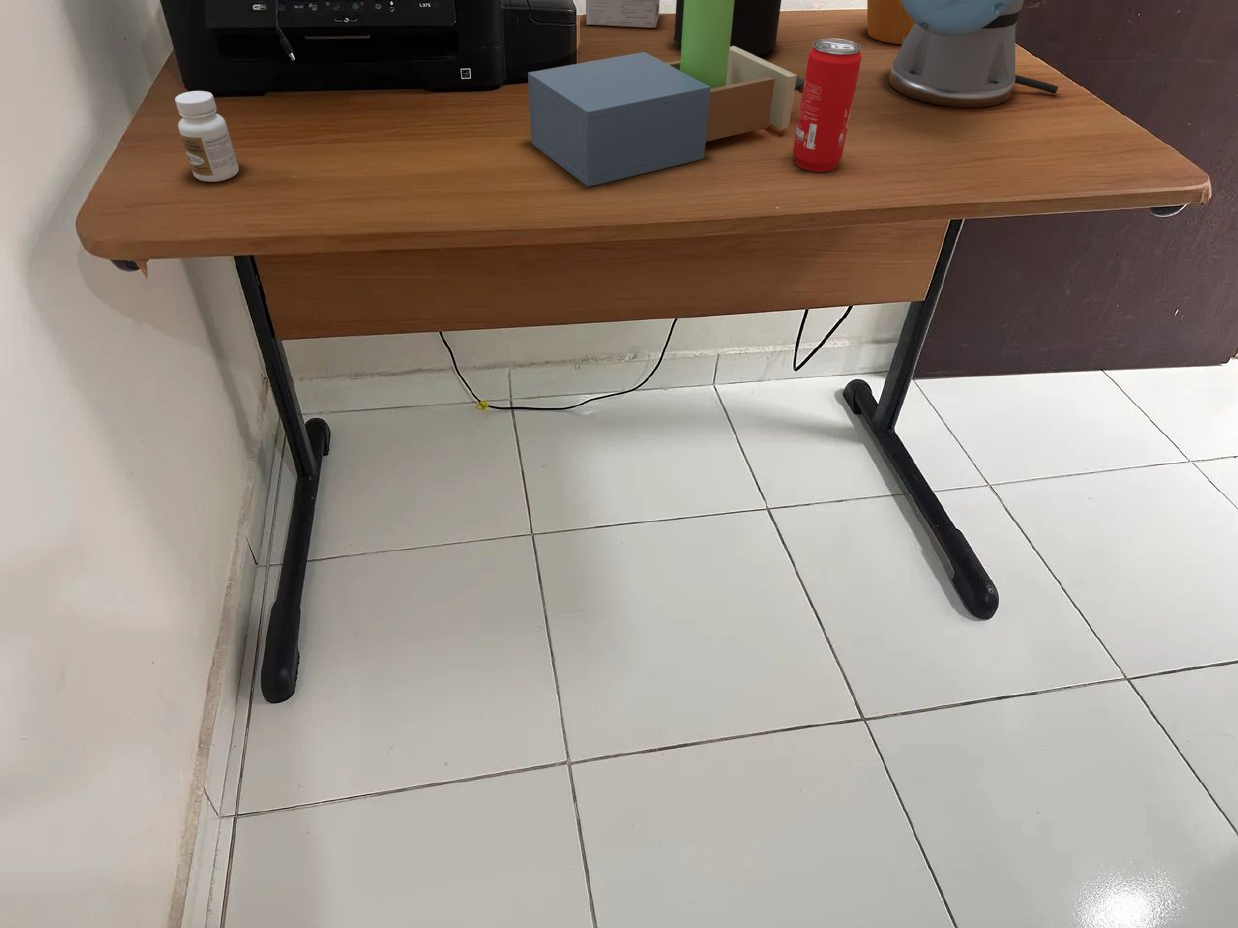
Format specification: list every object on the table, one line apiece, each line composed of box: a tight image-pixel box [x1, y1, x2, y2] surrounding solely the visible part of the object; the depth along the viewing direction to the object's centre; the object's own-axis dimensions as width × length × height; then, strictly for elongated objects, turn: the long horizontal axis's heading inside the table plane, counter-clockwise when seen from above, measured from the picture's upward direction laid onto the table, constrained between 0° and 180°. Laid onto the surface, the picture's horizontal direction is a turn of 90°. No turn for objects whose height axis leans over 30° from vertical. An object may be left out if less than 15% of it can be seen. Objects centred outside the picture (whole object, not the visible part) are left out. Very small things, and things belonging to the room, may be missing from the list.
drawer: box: [665, 46, 805, 143], centre depth 98 cm, size 18×11×6 cm, turn 121°
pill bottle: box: [174, 90, 240, 183], centre depth 86 cm, size 4×4×8 cm
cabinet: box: [527, 51, 710, 188], centre depth 92 cm, size 15×13×8 cm
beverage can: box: [792, 37, 862, 173], centre depth 89 cm, size 5×5×12 cm
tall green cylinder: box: [679, 0, 734, 89], centre depth 93 cm, size 5×5×15 cm
